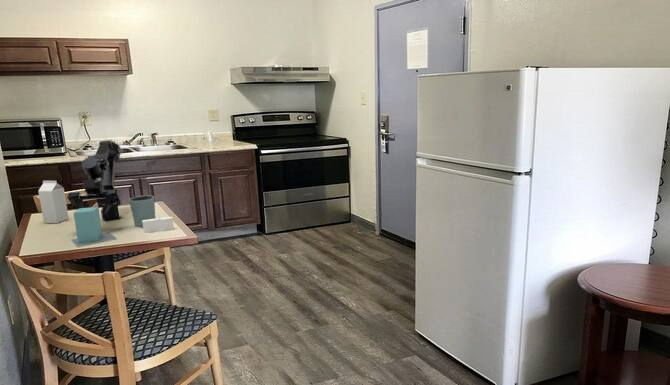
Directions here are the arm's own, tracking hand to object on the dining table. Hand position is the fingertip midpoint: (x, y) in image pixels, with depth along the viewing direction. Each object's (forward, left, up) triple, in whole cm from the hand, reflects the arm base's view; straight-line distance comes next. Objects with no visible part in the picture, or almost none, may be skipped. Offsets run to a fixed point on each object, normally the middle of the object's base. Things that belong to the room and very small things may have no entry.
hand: (92, 214), depth 187 cm
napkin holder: (-21, +13, -9) cm, 27 cm away
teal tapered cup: (-20, -1, -9) cm, 22 cm away
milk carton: (+8, -39, -9) cm, 41 cm away
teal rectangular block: (+3, +6, -8) cm, 11 cm away
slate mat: (+2, +7, -9) cm, 12 cm away
